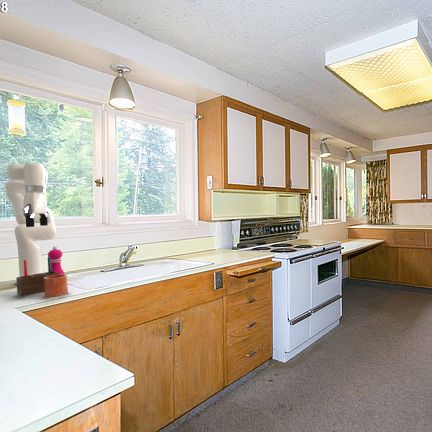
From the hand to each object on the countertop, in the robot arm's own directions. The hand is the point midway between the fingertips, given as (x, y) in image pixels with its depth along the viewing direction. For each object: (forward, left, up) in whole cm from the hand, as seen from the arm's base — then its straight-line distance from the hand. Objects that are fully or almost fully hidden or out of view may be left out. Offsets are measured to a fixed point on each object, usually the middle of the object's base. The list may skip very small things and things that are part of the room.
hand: (37, 226), depth 149 cm
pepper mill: (-7, +9, -31) cm, 33 cm away
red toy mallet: (+3, -6, -30) cm, 31 cm away
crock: (+16, 0, -31) cm, 35 cm away
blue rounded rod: (+3, +3, -30) cm, 31 cm away
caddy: (+3, -2, -31) cm, 31 cm away
